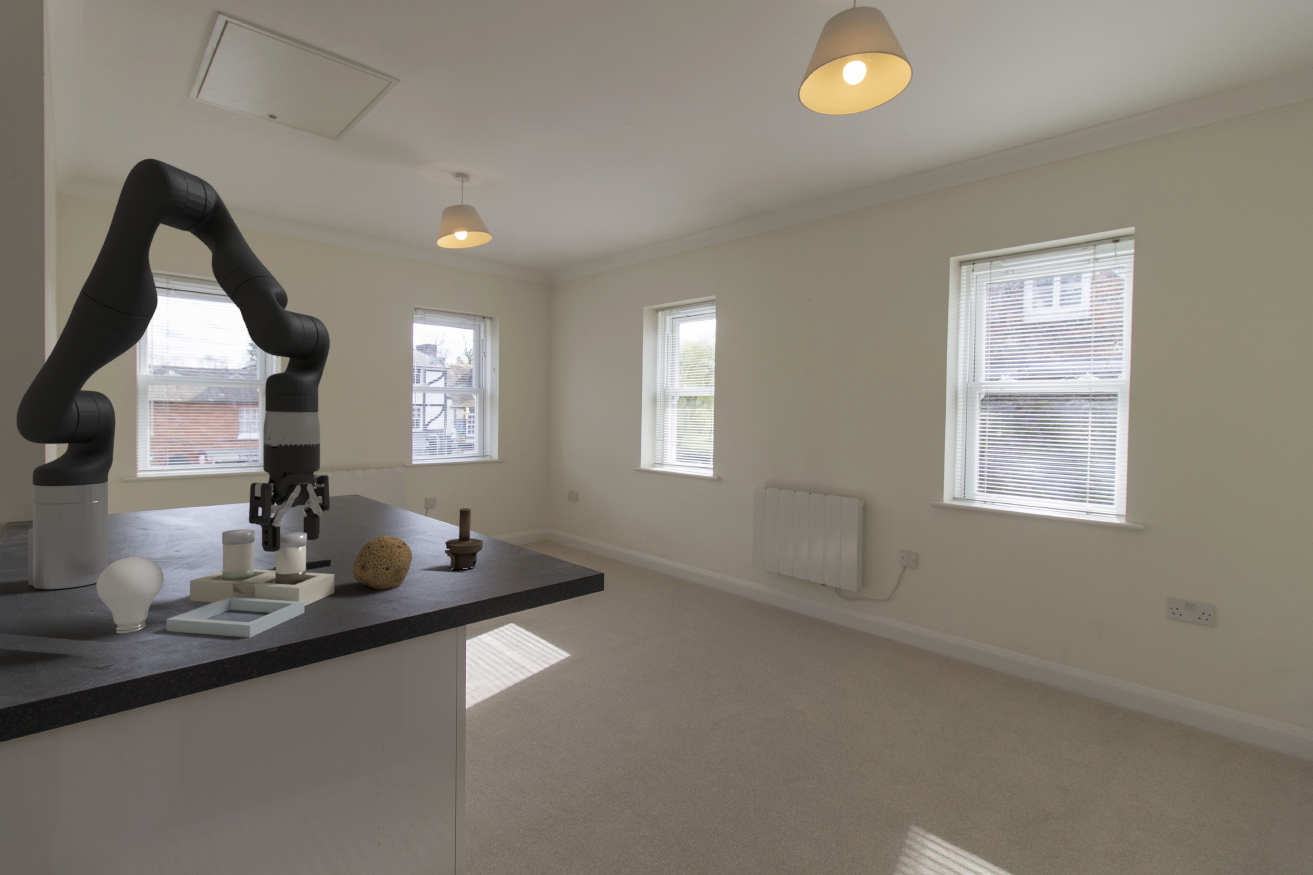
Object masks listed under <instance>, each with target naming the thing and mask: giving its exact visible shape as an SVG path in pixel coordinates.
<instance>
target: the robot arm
mask: <svg viewBox="0 0 1313 875" xmlns="http://www.w3.org/2000/svg"><path fill="white" fill-rule="evenodd" d="M120 191H121V192H120V194H119V197H118V200H117V203H116V206H115V209H114V212H113V216H112V219H111V222H110V225H109V228H108V231H107V234H106V236H105V239H104V242H103V244H102V246H101V248H100V251H99V253H98V256H97V257H96V260H95V261H94V265H93V267H92V268H91V270H90V272H89V275H88V276H87V278H86V280H85V282H84V284H83V285H82V288H81V289H80V291H79V293H78V295H77V297H76V299H75V302H74V304H73V307H72V309H71V310H70V314H69V316H68V318H67V321H66V323H65V325H64V327H63V329H62V332H61V334H60V335H59V337H58V340H57V341H56V343H55V345H54V346H53V348H52V351H51V352H50V354H49V355H48V357H47V359H46V360H45V362H44V363H43V365H42V366H41V368H40V369H39V371H38V373H37V374H36V375H35V377H34V379H33V380H32V382H31V383H30V385H29V387H28V388H27V389H26V391H25V392H24V395H23V396H22V398H21V400H20V403H19V406H18V409H17V412H16V427H17V428H16V429H17V430H18V432H19V435H21V437H22V438H23V439H25V440H26V441H28V442H31V443H34V444H42V445H46V444H47V445H62V444H63V445H64V444H65V445H66V444H67V448H66V451H65V452H64V453H63V454H62V455H60V456H59V457H57V458H55V459H53V460H50V461H49V462H46V463H43V464H41V465H38V466H37V467H34V469H33V472H32V528H30V529H29V530H28V532H27V534H28V536H27V537H28V540H27V541H28V546H27V548H28V552H27V554H28V556H27V557H28V566H27V567H28V585H29V586H32V587H33V588H34V589H37V590H57V589H58V590H59V589H69V588H70V589H71V588H76V587H83V586H88V585H89V586H90V585H93V584H97V580H98V578H99V576H100V574H101V573H102V571H103V570H104V569H105V568H106V567H107V566H109V473H110V470H111V468H112V465H113V462H114V448H115V447H114V446H115V436H116V435H115V433H116V412H115V407H114V406H113V403H112V401H111V400H110V399H109V397H108V396H107V395H106V394H105V393H102V392H100V391H96V390H85V389H82V388H83V387H84V385H85V384H86V383H87V381H88V380H89V379H90V378H91V377H92V376H93V375H94V374H95V373H97V371H99V370H100V369H102V368H103V367H105V366H106V365H108V364H109V363H111V362H112V361H114V360H115V359H117V358H119V357H120V356H122V355H123V354H125V353H126V352H127V351H129V350H131V348H133V347H134V346H135V345H136V344H138V342H140V341H141V339H142V338H143V336H144V335H145V332H146V331H147V329H148V326H149V325H150V324H151V321H152V319H153V318H154V317H153V316H154V315H155V312H156V311H157V307H158V304H159V303H158V302H159V298H158V291H157V286H156V284H155V283H156V282H155V279H154V275H153V273H152V267H151V264H150V249H151V245H152V243H153V241H154V240H153V239H154V237H155V234H156V232H157V230H158V228H159V226H160V225H163V226H164V225H165V226H166V227H167V226H168V227H170V228H174V229H176V230H178V231H179V230H180V231H183V232H188V233H191V235H193V236H194V237H196V238H197V239H198V240H199V241H200V242H202V243H203V244H204V245H205V247H207V248H208V249H209V251H210V252H211V269H212V274H213V276H214V278H215V280H216V282H217V284H218V285H219V287H220V288H221V289H222V291H224V293H225V294H226V295H227V297H228V298H229V299H230V300H231V302H233V304H234V305H235V306H236V308H238V310H239V311H240V312H239V313H240V314H241V317H242V320H243V322H244V324H245V328H246V330H247V332H248V333H247V334H248V336H249V337H250V339H251V341H252V343H254V344H255V345H256V346H257V347H258V348H259V349H260V350H261V351H263V352H265V353H266V354H268V355H270V356H276V357H282V358H289V360H288V363H287V365H286V369H285V370H284V372H278V373H273V374H270V375H268V377H267V379H266V380H265V381H266V382H265V387H264V388H265V390H264V391H265V395H264V396H265V399H264V400H265V404H264V405H265V408H264V410H265V411H264V413H265V414H264V421H263V428H262V429H263V430H262V431H263V433H262V434H263V436H262V437H263V439H262V440H263V442H262V443H263V448H262V450H263V455H262V456H263V457H262V458H263V459H262V460H263V471H264V472H265V473H267V474H268V475H269V476H268V481H267V482H252V483H251V484H250V488H249V508H248V509H249V510H248V523H249V524H251V525H258V526H260V527H261V547H262V549H263V551H264V552H272V553H274V552H275V553H276V551H279V550H280V534H281V526H279V525H280V523H281V521H282V520H283V517H284V515H286V514H288V513H289V512H290V510H291V509H292V508H295V507H298V508H299V509H300V510H301V512H302V513H303V515H304V516H303V532H304V533H307V541H316V540H318V539H319V538H320V526H321V525H320V523H321V522H320V521H321V520H320V519H321V518H320V517H322V516H323V513H324V512H327V511H329V510H330V508H331V507H330V505H331V504H330V503H331V502H330V483H329V481H330V480H329V478H330V477H329V475H328V474H315V473H316V472H318V471H320V468H321V425H320V418H319V387H320V386H319V385H320V383H321V380H322V377H323V374H324V369H325V367H326V363H327V360H328V357H329V356H328V355H329V352H330V347H331V340H330V338H331V337H330V334H329V331H328V328H327V326H326V325H325V324H324V322H323V321H322V320H321V319H319V318H317V317H315V316H313V315H309V314H303V313H298V312H294V311H290V310H287V309H286V308H287V306H288V304H289V302H288V301H289V299H288V298H289V297H288V293H287V292H286V290H285V289H284V288H283V286H282V284H281V283H280V282H279V281H278V280H277V279H276V278H275V276H274V275H273V274H272V273H271V271H269V269H268V268H267V267H266V265H264V264H263V262H262V261H261V260H260V259H259V257H257V255H256V253H255V252H254V251H253V250H252V248H251V247H250V246H249V243H248V242H247V240H246V239H245V237H244V236H243V234H242V232H241V230H240V229H239V227H238V225H237V223H236V222H235V219H233V217H232V215H231V214H230V211H229V209H228V208H227V205H226V204H225V202H224V200H223V199H222V198H221V195H219V193H218V192H217V190H216V189H215V188H214V186H213V185H212V184H210V183H209V182H208V181H206V180H204V179H203V178H201V177H199V176H197V175H195V174H192V173H190V172H189V171H185V170H183V169H180V168H179V167H177V166H174V165H172V164H170V163H167V162H164V161H163V160H162V161H161V160H160V159H155V158H145V159H142V160H140V161H138V162H137V163H135V165H134V166H133V167H132V168H131V170H130V171H129V173H128V175H127V176H126V178H125V180H124V183H123V186H122V188H121V190H120ZM320 497H321V502H320V500H319V498H320ZM259 509H261V515H259ZM272 515H273V517H272Z"/></svg>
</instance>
